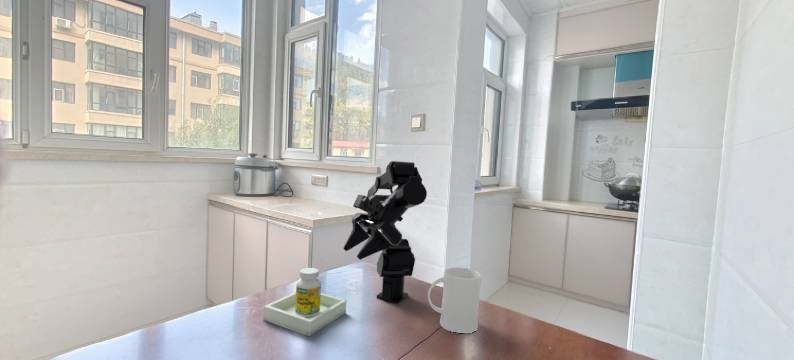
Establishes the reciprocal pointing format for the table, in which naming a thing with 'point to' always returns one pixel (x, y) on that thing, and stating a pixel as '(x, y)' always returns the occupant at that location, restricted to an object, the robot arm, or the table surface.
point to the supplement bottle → (308, 293)
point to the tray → (287, 318)
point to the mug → (459, 299)
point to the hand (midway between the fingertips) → (351, 253)
